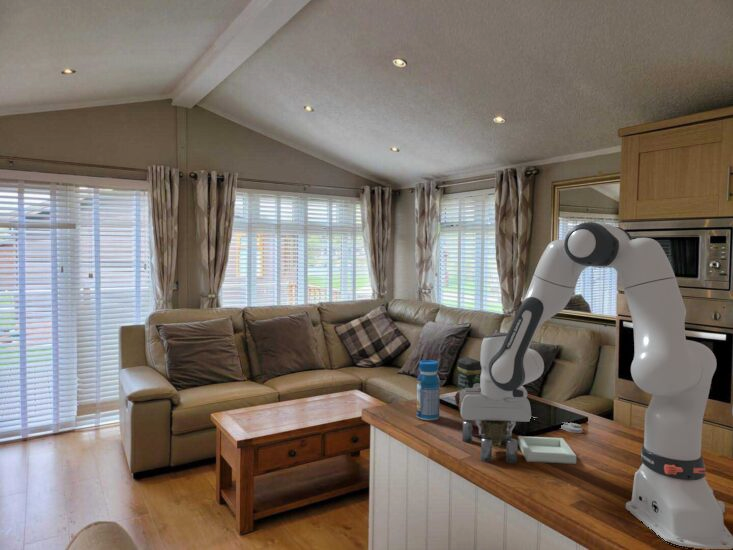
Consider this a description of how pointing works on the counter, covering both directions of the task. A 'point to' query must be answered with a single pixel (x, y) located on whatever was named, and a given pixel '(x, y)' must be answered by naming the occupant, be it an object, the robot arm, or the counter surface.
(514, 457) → the spacer field
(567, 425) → the adjustable wrench
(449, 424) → the counter surface
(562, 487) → the counter surface
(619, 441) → the counter surface
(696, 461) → the robot arm
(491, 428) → the cup
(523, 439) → the tray
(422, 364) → the beverage bottle
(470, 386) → the coffee jar
